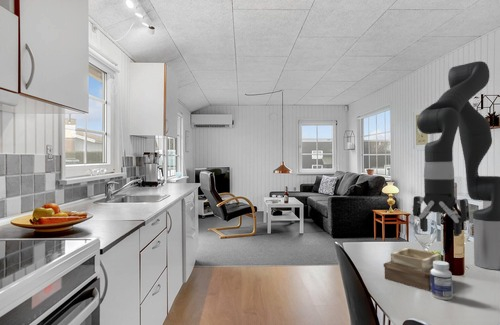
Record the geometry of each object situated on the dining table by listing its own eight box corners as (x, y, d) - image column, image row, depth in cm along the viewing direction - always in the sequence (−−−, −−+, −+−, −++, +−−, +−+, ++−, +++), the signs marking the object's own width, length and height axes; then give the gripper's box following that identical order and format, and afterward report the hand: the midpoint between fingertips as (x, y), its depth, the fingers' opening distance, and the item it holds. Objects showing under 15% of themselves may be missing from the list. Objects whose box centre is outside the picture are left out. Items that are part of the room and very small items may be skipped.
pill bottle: (432, 291, 96) (432, 258, 97) (453, 295, 93) (453, 261, 93) (429, 297, 92) (428, 263, 92) (451, 301, 89) (450, 266, 89)
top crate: (407, 257, 114) (406, 247, 114) (440, 264, 105) (440, 254, 105) (391, 263, 107) (390, 253, 107) (425, 272, 99) (425, 260, 99)
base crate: (404, 269, 116) (404, 255, 116) (448, 280, 105) (448, 265, 105) (383, 278, 108) (383, 263, 108) (429, 291, 96) (428, 274, 96)
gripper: (472, 177, 90) (473, 235, 89) (419, 176, 101) (420, 228, 101) (461, 178, 85) (463, 239, 85) (408, 177, 96) (409, 231, 96)
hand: (440, 233), depth 93 cm, fingers open, 8 cm apart
